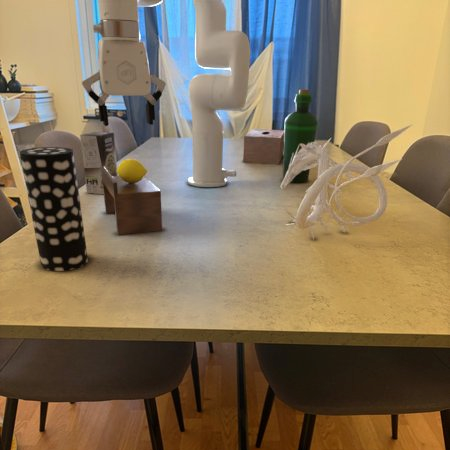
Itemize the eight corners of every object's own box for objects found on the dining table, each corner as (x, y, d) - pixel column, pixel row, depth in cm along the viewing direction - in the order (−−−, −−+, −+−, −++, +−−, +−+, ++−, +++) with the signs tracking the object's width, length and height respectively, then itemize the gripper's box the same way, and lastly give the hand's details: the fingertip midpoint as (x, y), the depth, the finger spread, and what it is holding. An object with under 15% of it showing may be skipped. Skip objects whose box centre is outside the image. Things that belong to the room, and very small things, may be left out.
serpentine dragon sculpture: (412, 272, 77) (463, 117, 70) (299, 251, 75) (340, 88, 67) (334, 233, 120) (361, 134, 112) (261, 219, 117) (283, 117, 110)
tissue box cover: (251, 152, 198) (253, 128, 193) (283, 153, 195) (285, 130, 191) (243, 162, 175) (244, 136, 171) (278, 164, 173) (280, 137, 168)
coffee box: (106, 194, 125) (100, 135, 117) (86, 193, 126) (78, 134, 118) (119, 187, 133) (114, 131, 125) (100, 186, 134) (94, 130, 126)
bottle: (313, 179, 150) (323, 89, 137) (308, 185, 141) (319, 90, 128) (283, 176, 153) (290, 88, 140) (276, 182, 144) (283, 89, 131)
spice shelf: (144, 209, 113) (141, 164, 108) (162, 230, 98) (160, 179, 93) (105, 212, 110) (100, 166, 104) (118, 235, 95) (113, 182, 90)
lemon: (114, 185, 98) (112, 160, 95) (120, 179, 102) (118, 156, 100) (145, 186, 98) (143, 161, 95) (149, 180, 102) (148, 157, 100)
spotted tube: (48, 254, 84) (28, 146, 75) (91, 253, 85) (77, 147, 76) (35, 271, 77) (12, 155, 68) (83, 270, 78) (66, 155, 68)
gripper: (77, 29, 80) (89, 128, 88) (167, 33, 86) (171, 125, 94) (73, 31, 86) (85, 123, 94) (158, 35, 92) (162, 121, 100)
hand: (128, 124), depth 94 cm, fingers open, 9 cm apart
